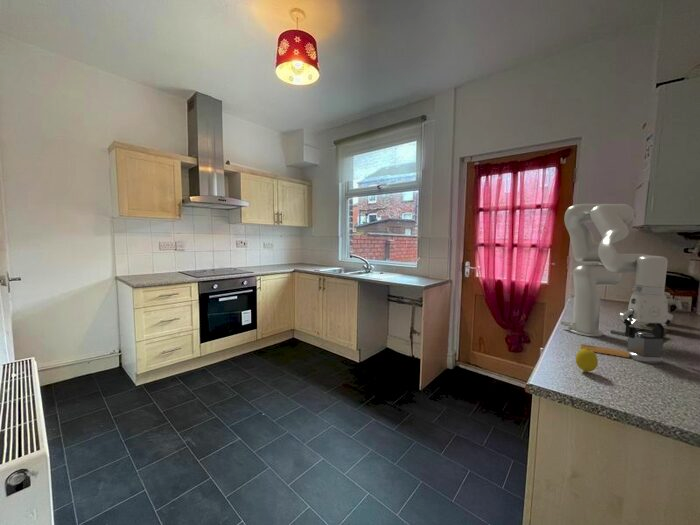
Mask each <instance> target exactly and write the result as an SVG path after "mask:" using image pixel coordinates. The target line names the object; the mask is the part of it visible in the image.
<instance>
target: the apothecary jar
mask: <svg viewBox="0 0 700 525" xmlns="http://www.w3.org/2000/svg"><path fill="white" fill-rule="evenodd" d="M664 295H665V296H666V298H667V304H668V313H670V314H671V308H672V306H673V305H675V303H676V301H675V300H674V298H672V297H671V293H670V292H666V291H664ZM674 320H675V319H674V317H673V318H672V319H671V320H670V323H669V324H672V323H673V322H674ZM669 324H668V325H669ZM654 325H656V324H655V323H643V324H641V325H639V328H640V329H647V330H653V329H654ZM667 331H669V332H670V330H669V329H668V328H667V327H666V328H664V332H665V333H668V332H667Z"/></svg>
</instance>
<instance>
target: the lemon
mask: <svg viewBox="0 0 700 525" xmlns="http://www.w3.org/2000/svg"><path fill="white" fill-rule="evenodd" d="M598 362H599V361H598V356H597V353H595V352H593V351H591V350H589V349H588V348H586V349H582V350H581V349H579V350H578V351H577V353H576V356H575V363H576V365H577V367H578V368H579V369H580V370H582V371H583V372H584V371H585V372H584V373H589V372H593V371H594V370H595V369H597V367H598V364H599V363H598Z"/></svg>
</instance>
